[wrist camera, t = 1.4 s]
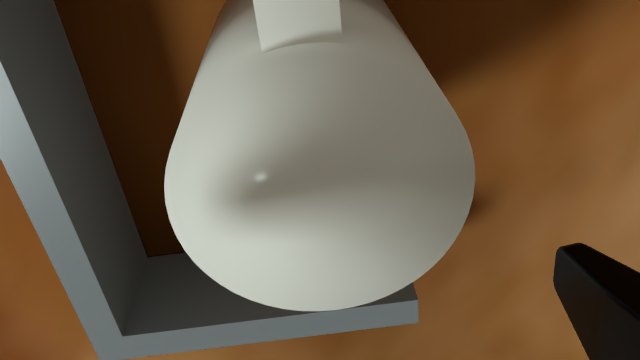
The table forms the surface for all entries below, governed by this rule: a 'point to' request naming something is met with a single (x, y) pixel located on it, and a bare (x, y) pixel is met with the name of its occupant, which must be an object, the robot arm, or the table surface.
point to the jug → (316, 157)
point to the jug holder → (122, 219)
